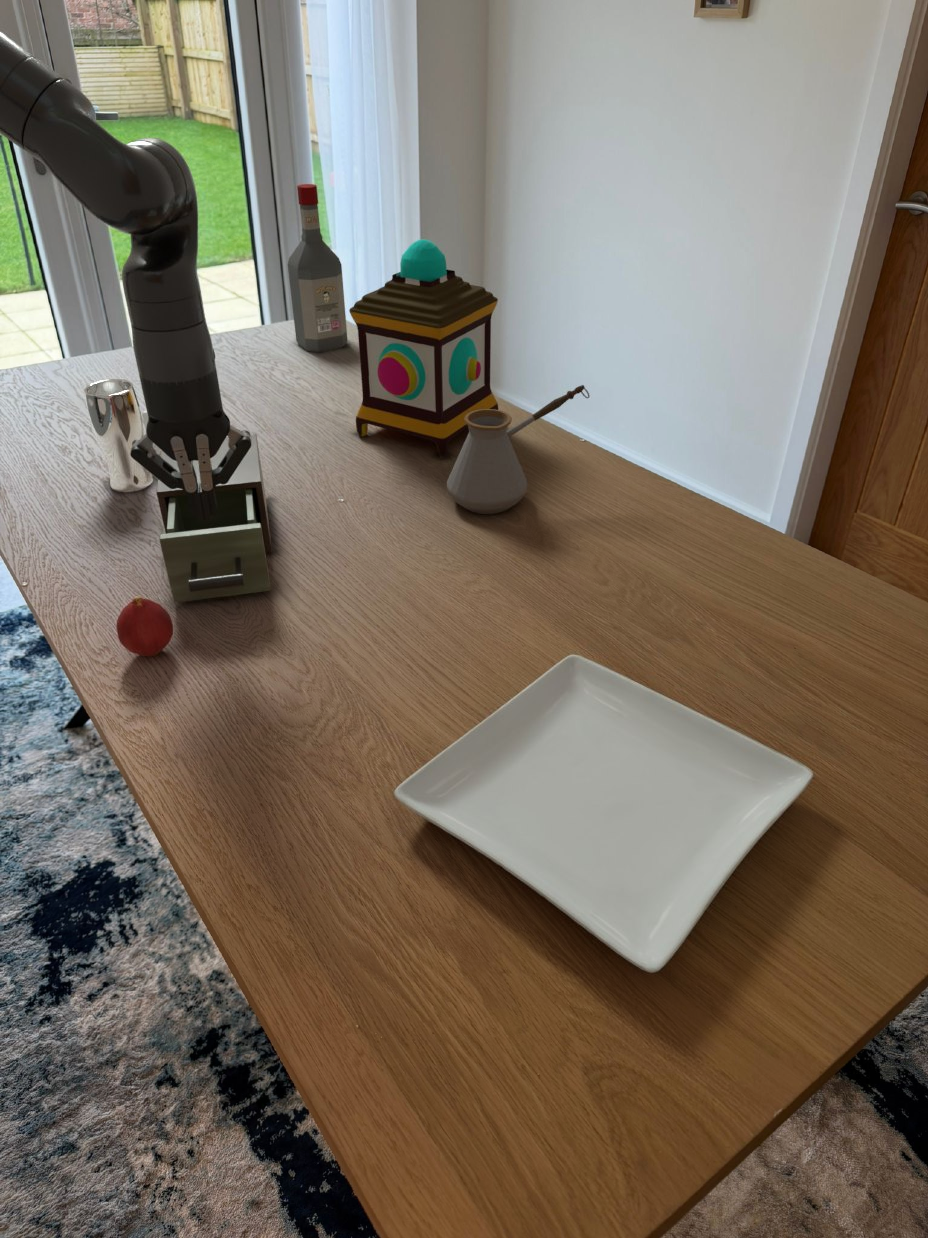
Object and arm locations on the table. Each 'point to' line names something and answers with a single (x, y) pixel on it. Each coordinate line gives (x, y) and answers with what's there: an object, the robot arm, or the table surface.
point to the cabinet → (227, 484)
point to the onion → (144, 627)
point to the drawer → (215, 549)
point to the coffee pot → (493, 460)
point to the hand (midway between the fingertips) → (205, 517)
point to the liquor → (316, 283)
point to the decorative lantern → (424, 349)
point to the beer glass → (118, 431)
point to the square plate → (609, 803)
